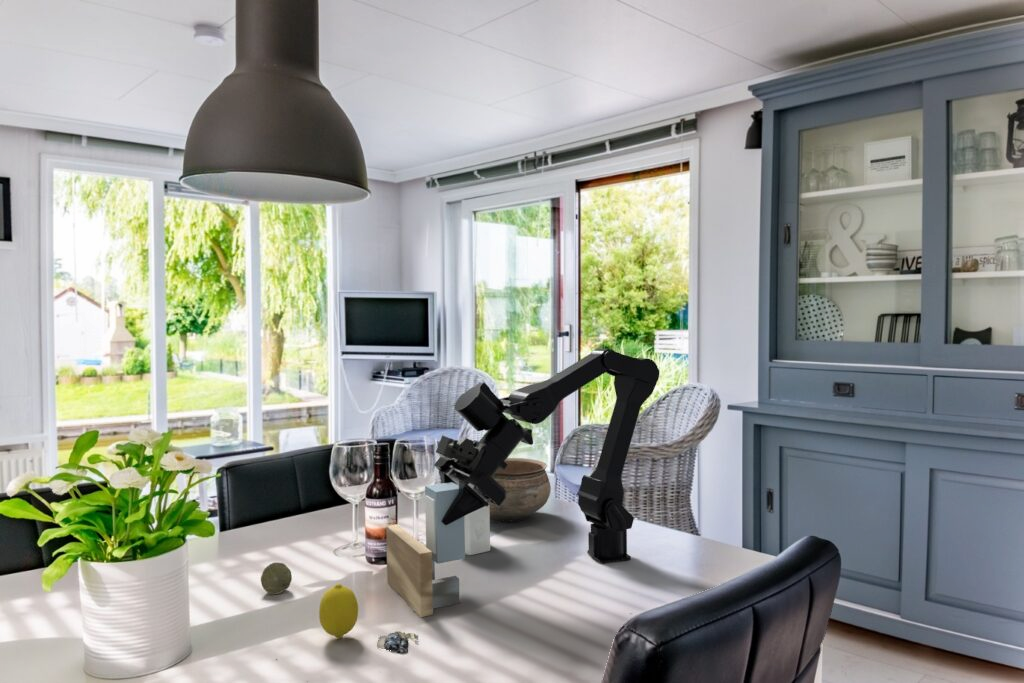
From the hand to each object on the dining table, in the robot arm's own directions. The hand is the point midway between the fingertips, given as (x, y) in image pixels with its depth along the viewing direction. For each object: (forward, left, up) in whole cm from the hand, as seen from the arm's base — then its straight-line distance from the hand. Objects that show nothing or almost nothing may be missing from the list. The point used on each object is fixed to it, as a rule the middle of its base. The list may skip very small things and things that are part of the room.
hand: (437, 519), depth 121 cm
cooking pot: (-25, -39, -13) cm, 48 cm away
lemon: (+17, +12, -13) cm, 25 cm away
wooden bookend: (+3, 0, -12) cm, 13 cm away
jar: (-11, -21, -13) cm, 26 cm away
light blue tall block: (-1, 0, -7) cm, 7 cm away
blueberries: (+9, +18, -13) cm, 24 cm away
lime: (+26, -10, -13) cm, 31 cm away
